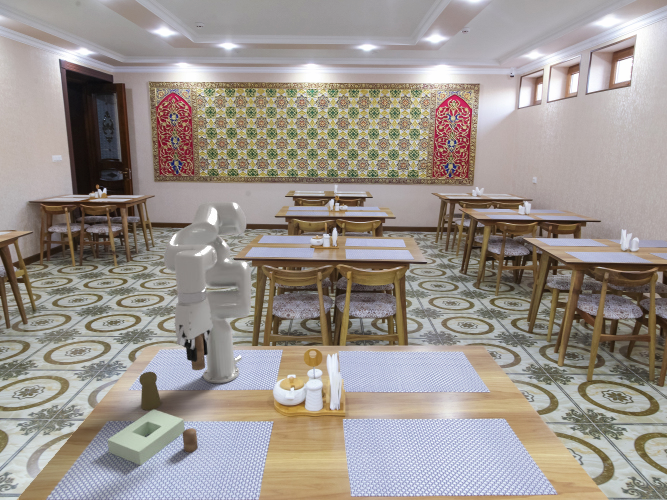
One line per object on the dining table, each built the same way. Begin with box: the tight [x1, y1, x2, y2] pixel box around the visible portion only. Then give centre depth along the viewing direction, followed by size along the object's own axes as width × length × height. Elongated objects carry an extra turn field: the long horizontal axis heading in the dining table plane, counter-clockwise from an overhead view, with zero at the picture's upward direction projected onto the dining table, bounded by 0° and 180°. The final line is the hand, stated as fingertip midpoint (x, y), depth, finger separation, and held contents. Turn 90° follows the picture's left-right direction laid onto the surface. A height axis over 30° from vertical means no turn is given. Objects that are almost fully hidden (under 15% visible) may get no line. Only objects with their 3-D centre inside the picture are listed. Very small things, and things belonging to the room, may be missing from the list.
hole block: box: [107, 409, 186, 466], centre depth 131 cm, size 16×12×4 cm
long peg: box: [190, 334, 206, 371], centre depth 130 cm, size 4×4×12 cm
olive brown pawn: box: [138, 371, 162, 411], centre depth 148 cm, size 6×6×11 cm
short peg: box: [182, 427, 198, 454], centre depth 127 cm, size 4×4×5 cm
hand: (197, 356), depth 131 cm, fingers closed on long peg, 3 cm apart
